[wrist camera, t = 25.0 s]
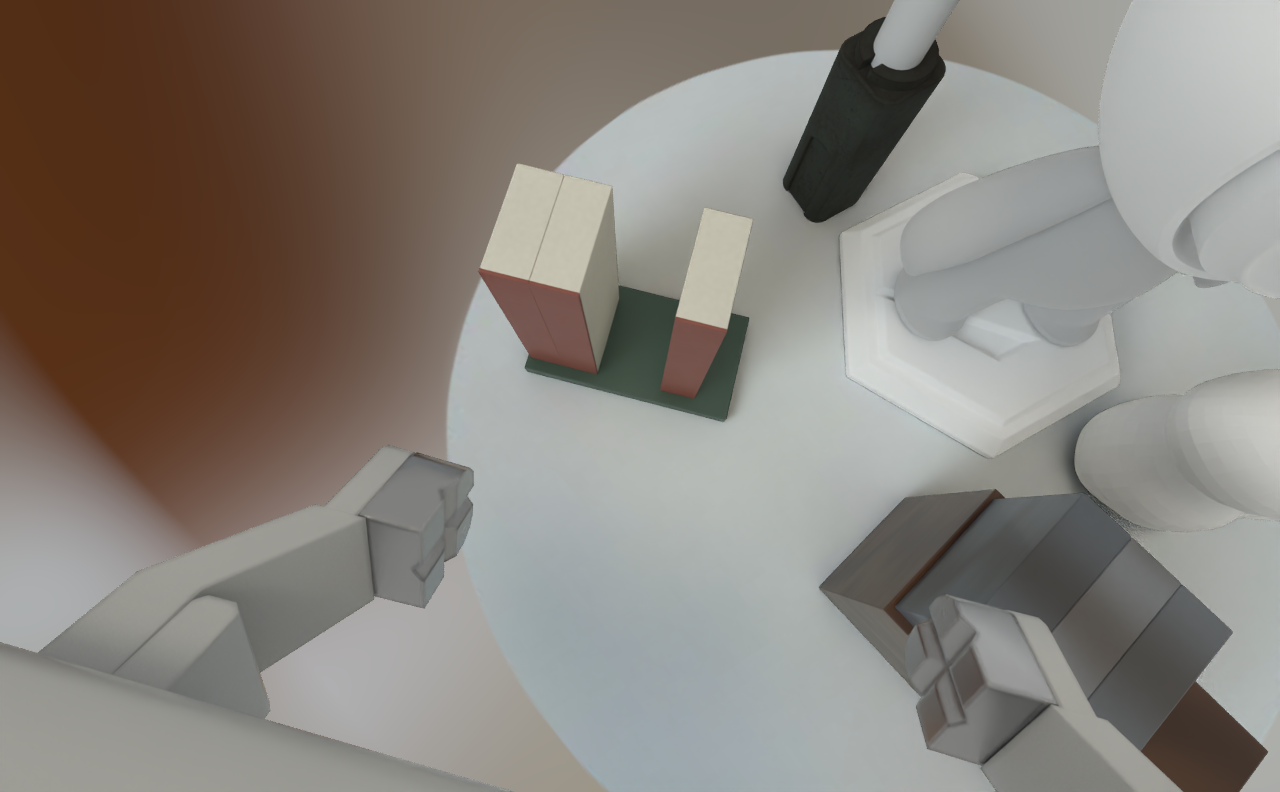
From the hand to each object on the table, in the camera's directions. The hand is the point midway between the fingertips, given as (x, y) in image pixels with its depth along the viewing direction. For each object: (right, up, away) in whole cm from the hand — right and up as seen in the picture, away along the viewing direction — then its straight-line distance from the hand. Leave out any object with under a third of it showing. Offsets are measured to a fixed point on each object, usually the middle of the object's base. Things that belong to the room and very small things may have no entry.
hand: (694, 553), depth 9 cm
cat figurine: (+35, -3, +30) cm, 46 cm away
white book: (+3, +6, +31) cm, 31 cm away
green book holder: (-1, +6, +32) cm, 32 cm away
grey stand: (+20, -14, +27) cm, 37 cm away
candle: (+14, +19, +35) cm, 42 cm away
